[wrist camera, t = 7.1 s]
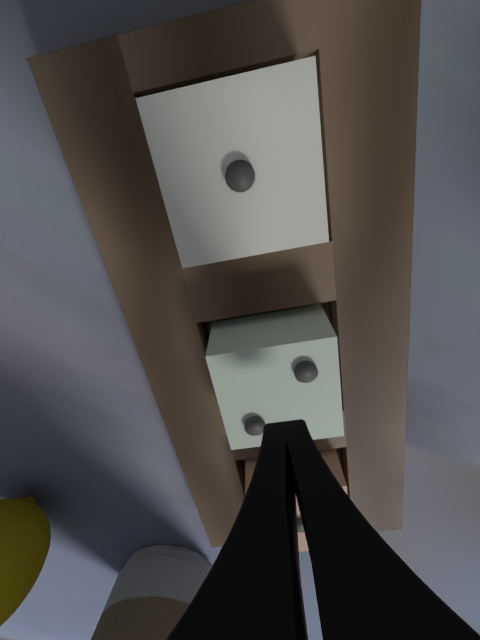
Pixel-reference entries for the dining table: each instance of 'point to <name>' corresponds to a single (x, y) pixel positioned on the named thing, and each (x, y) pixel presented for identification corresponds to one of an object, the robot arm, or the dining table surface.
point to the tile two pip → (276, 373)
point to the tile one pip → (240, 162)
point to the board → (270, 268)
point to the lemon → (20, 550)
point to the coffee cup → (152, 593)
